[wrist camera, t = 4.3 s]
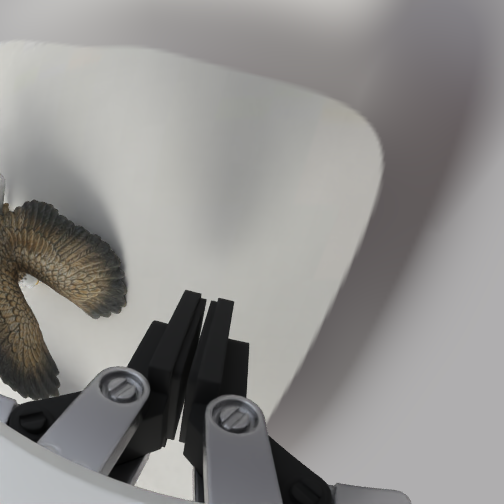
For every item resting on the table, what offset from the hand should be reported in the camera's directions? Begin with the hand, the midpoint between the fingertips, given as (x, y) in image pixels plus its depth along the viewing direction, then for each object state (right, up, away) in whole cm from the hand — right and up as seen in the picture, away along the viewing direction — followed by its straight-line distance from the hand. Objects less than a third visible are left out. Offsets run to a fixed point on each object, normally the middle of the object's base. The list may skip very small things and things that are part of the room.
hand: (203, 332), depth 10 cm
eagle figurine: (-8, +3, +3) cm, 9 cm away
